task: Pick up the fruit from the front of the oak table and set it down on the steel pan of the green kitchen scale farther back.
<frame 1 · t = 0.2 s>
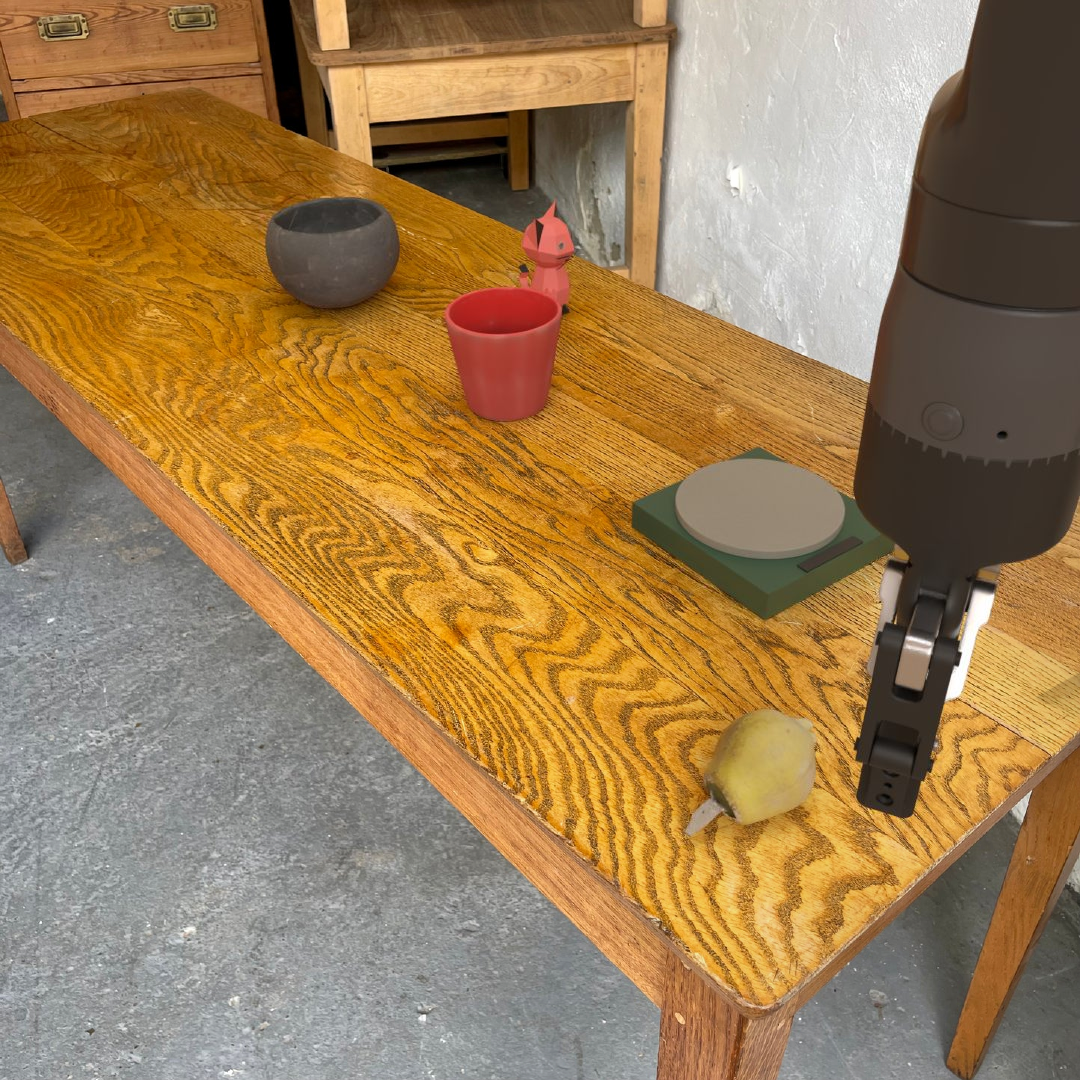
hand: (904, 734, 47), 17 cm above the table, tool pointing down, fingers open, 8 cm apart
scale: (760, 538, 87), on the table
flower pot: (508, 404, 107), on the table
cat figurine: (548, 316, 123), on the table
fruit: (747, 807, 66), on the table
bowl: (341, 300, 129), on the table
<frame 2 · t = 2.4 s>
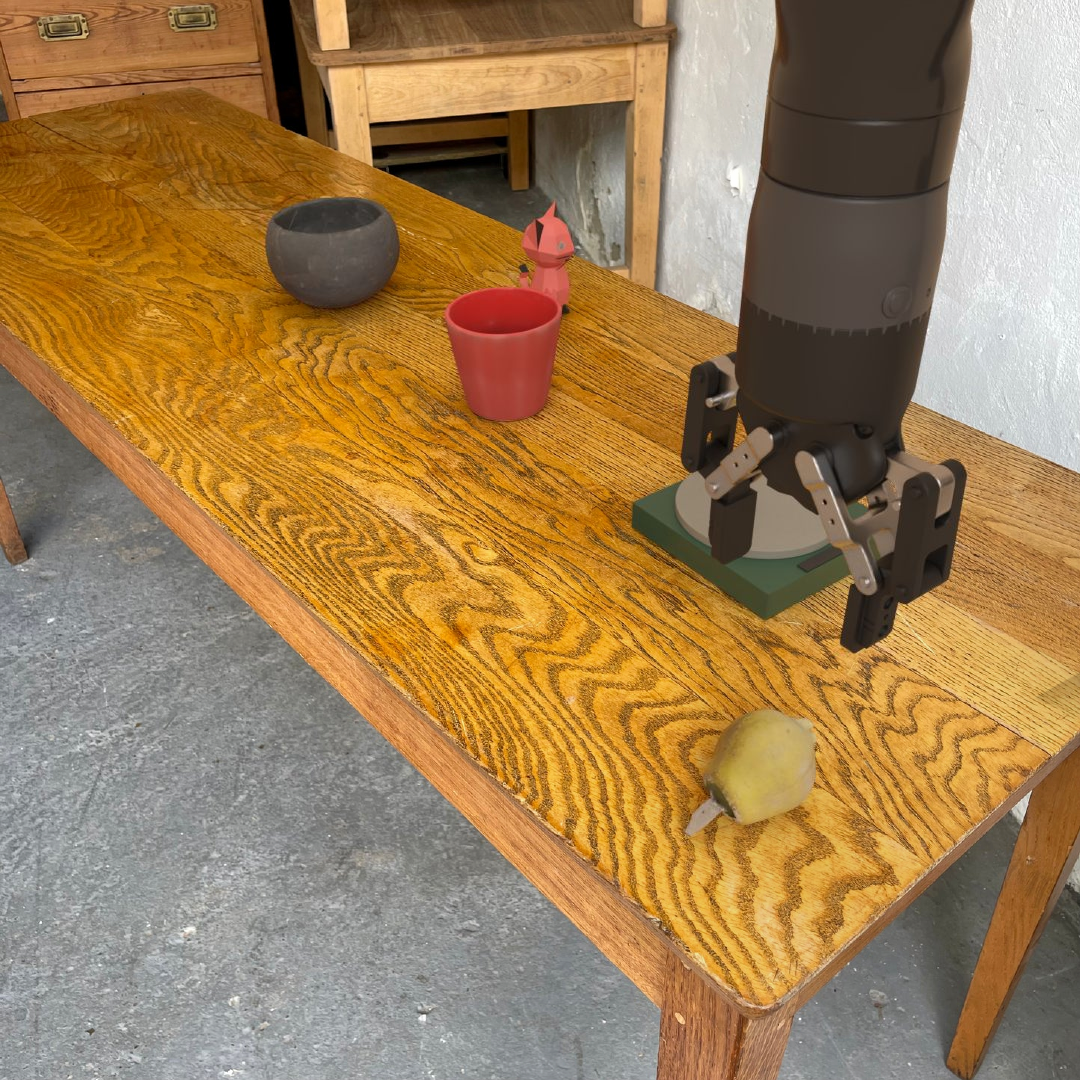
hand: (791, 597, 54), 17 cm above the table, tool pointing down, fingers open, 8 cm apart
nothing on the table moved.
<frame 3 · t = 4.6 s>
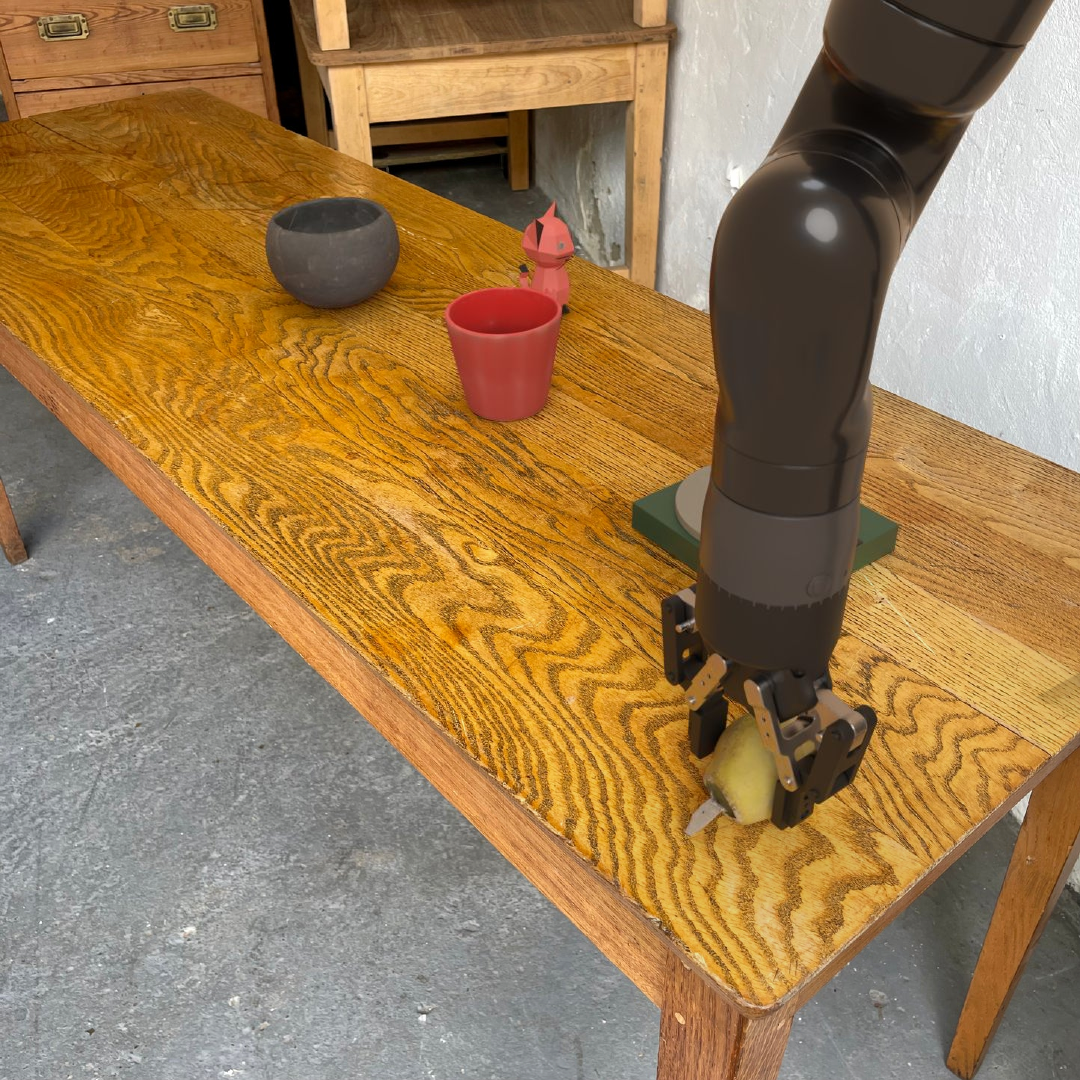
hand: (745, 783, 65), 2 cm above the table, tool pointing down, fingers closed on fruit, 6 cm apart
fruit: (747, 807, 66), on the table, touching gripper
everything else where it was.
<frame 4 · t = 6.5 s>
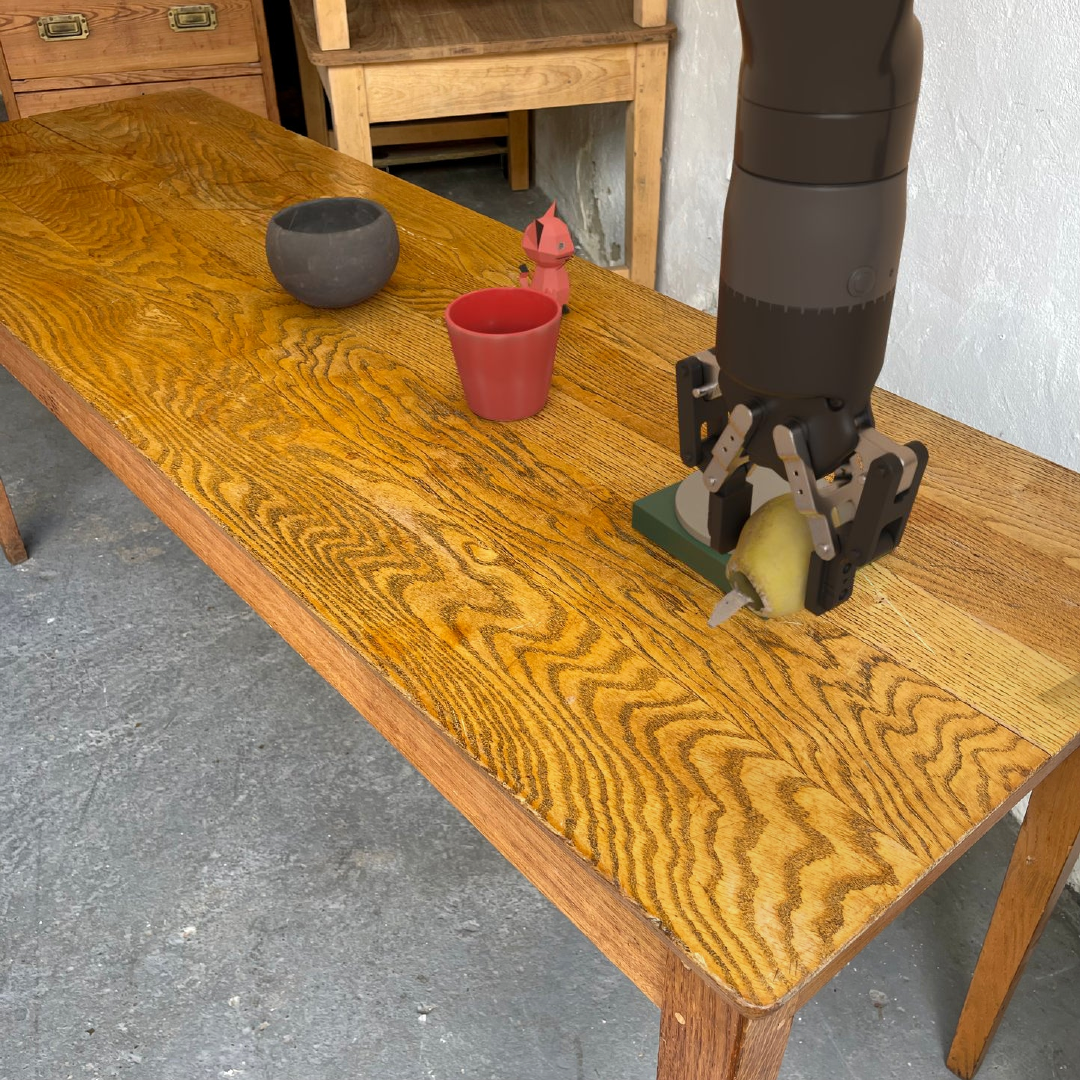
hand: (774, 574, 57), 16 cm above the table, tool pointing down, fingers closed on fruit, 6 cm apart
fruit: (775, 606, 58), point 14 cm above the table, touching gripper
everything else where it was.
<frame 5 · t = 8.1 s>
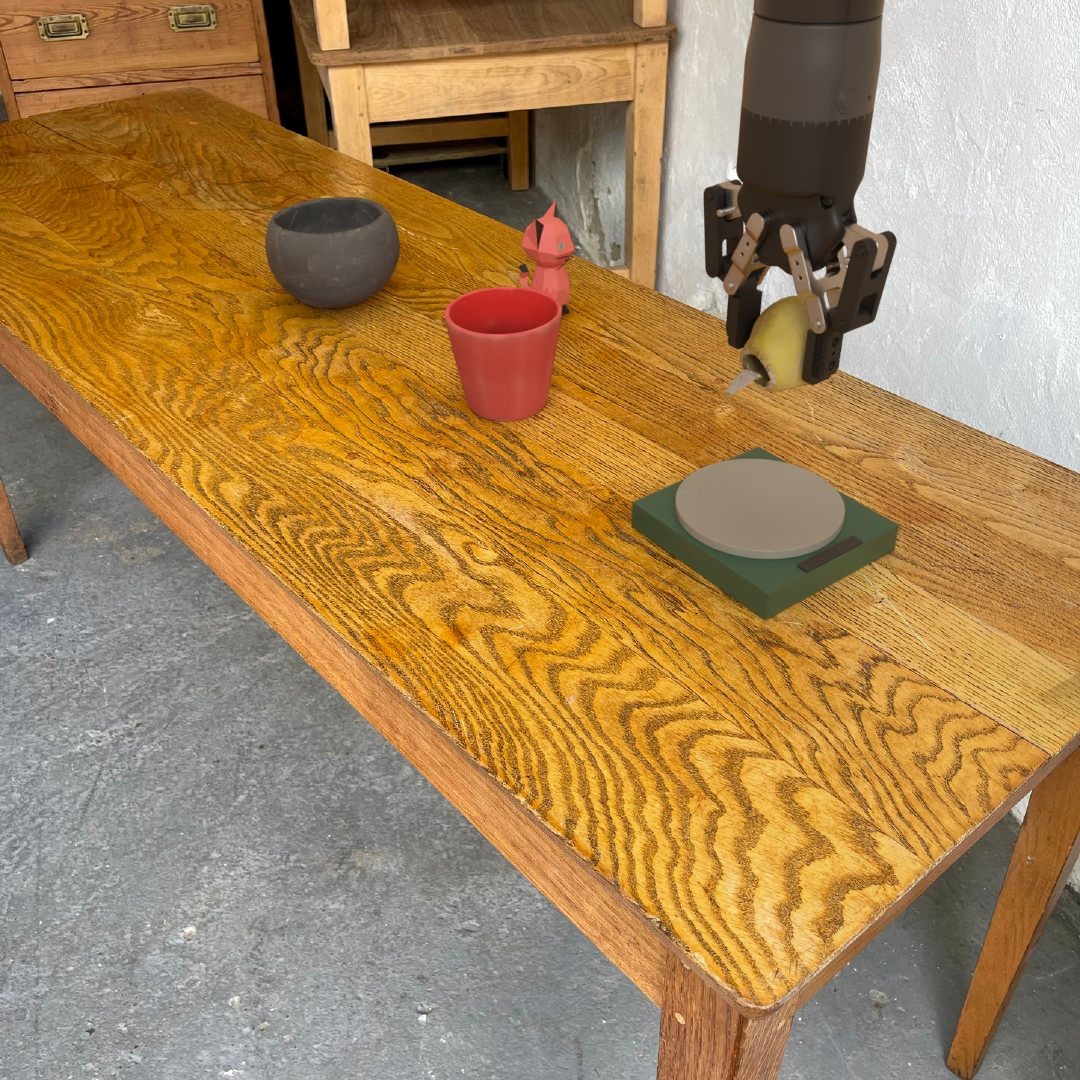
hand: (778, 361, 73), 18 cm above the table, tool pointing down, fingers closed on fruit, 6 cm apart
fruit: (778, 388, 74), point 16 cm above the table, touching gripper
everything else where it was.
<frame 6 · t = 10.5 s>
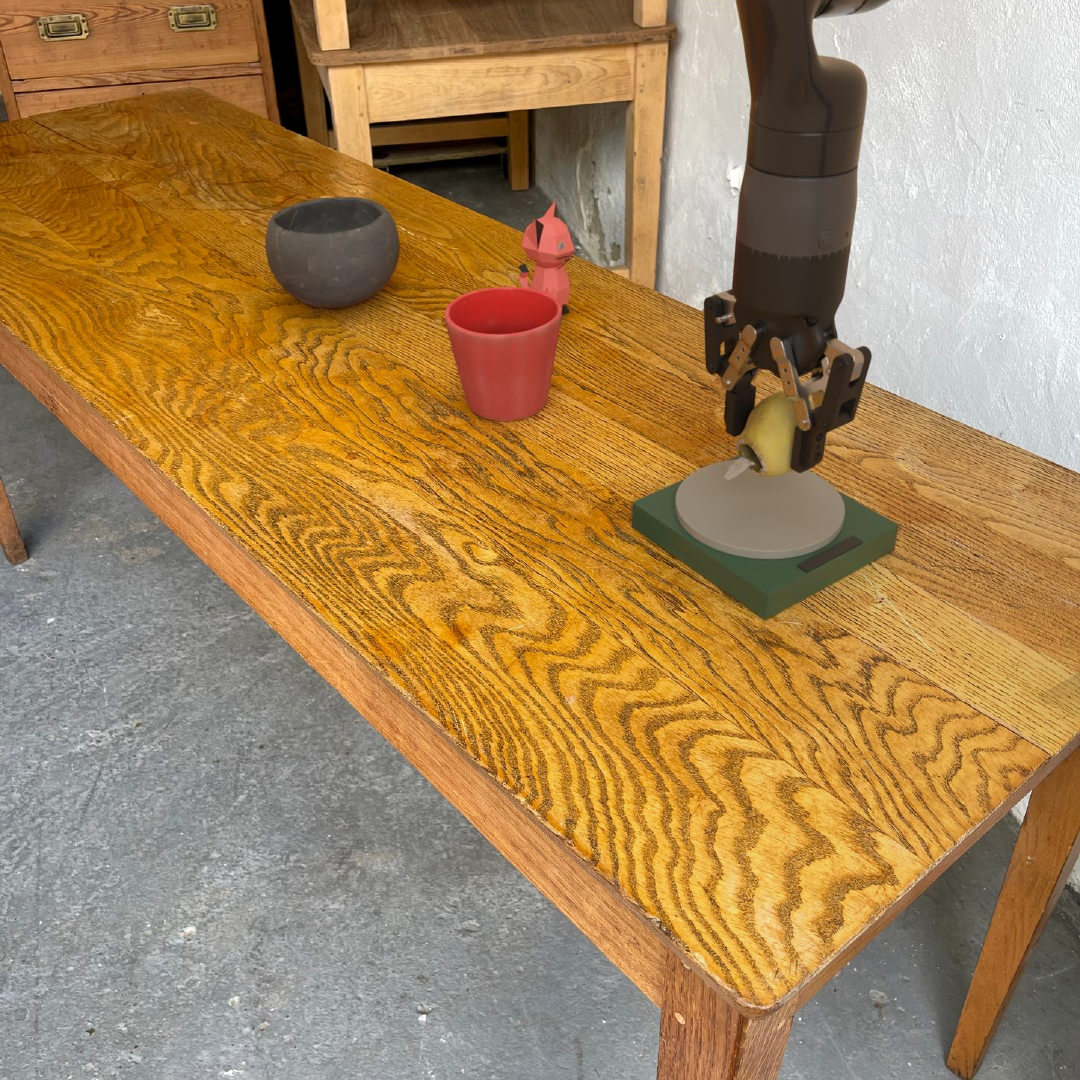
hand: (770, 448, 83), 8 cm above the table, tool pointing down, fingers closed on fruit, 6 cm apart
fruit: (770, 472, 83), point 6 cm above the table, touching gripper
everything else where it was.
when the fingers open (5 cm above the table, at t = 11.9 s): fruit stays where it is, resting on scale.
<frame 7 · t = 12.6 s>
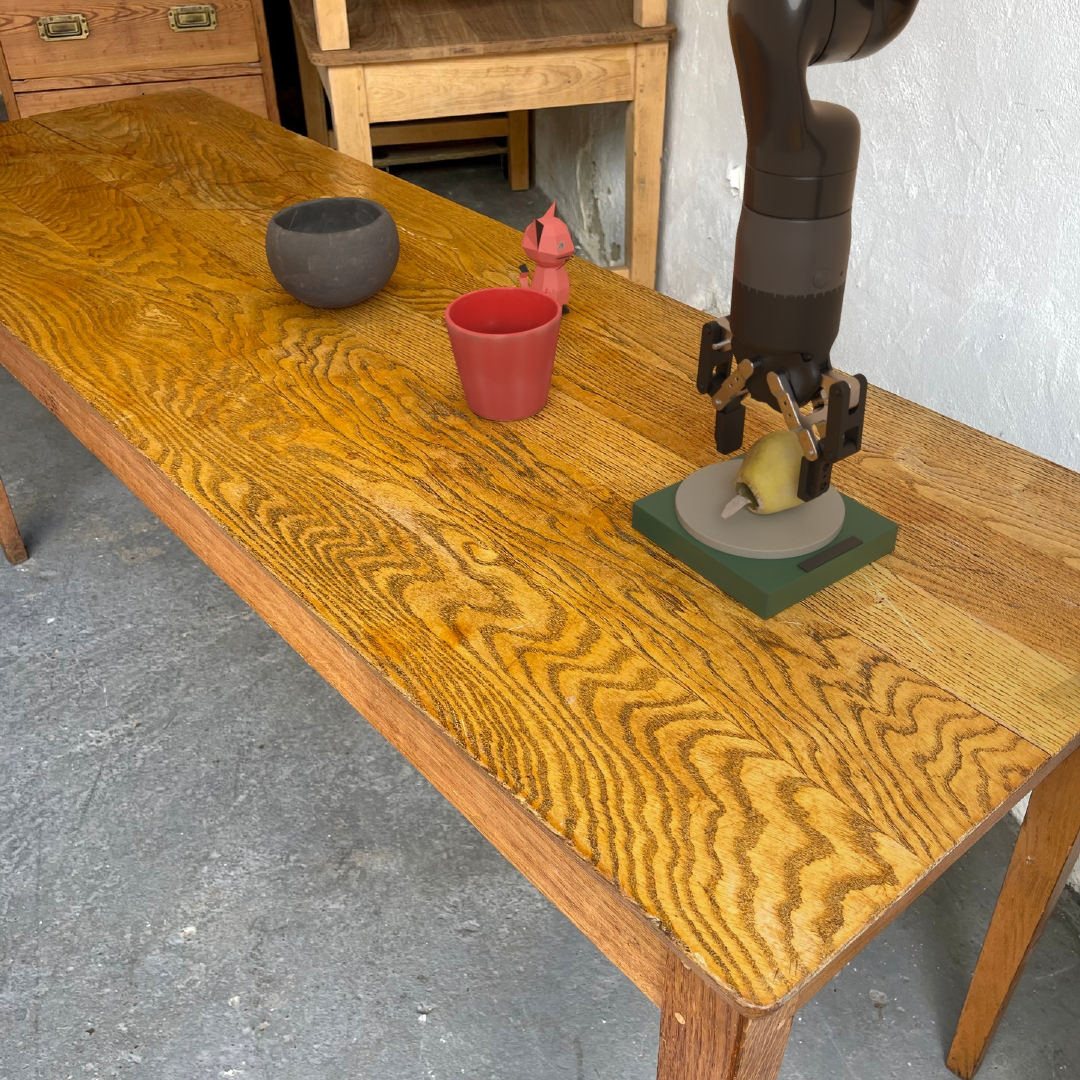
hand: (768, 472, 84), 6 cm above the table, tool pointing down, fingers open, 8 cm apart
fruit: (766, 508, 85), point 3 cm above the table, touching scale
everything else where it was.
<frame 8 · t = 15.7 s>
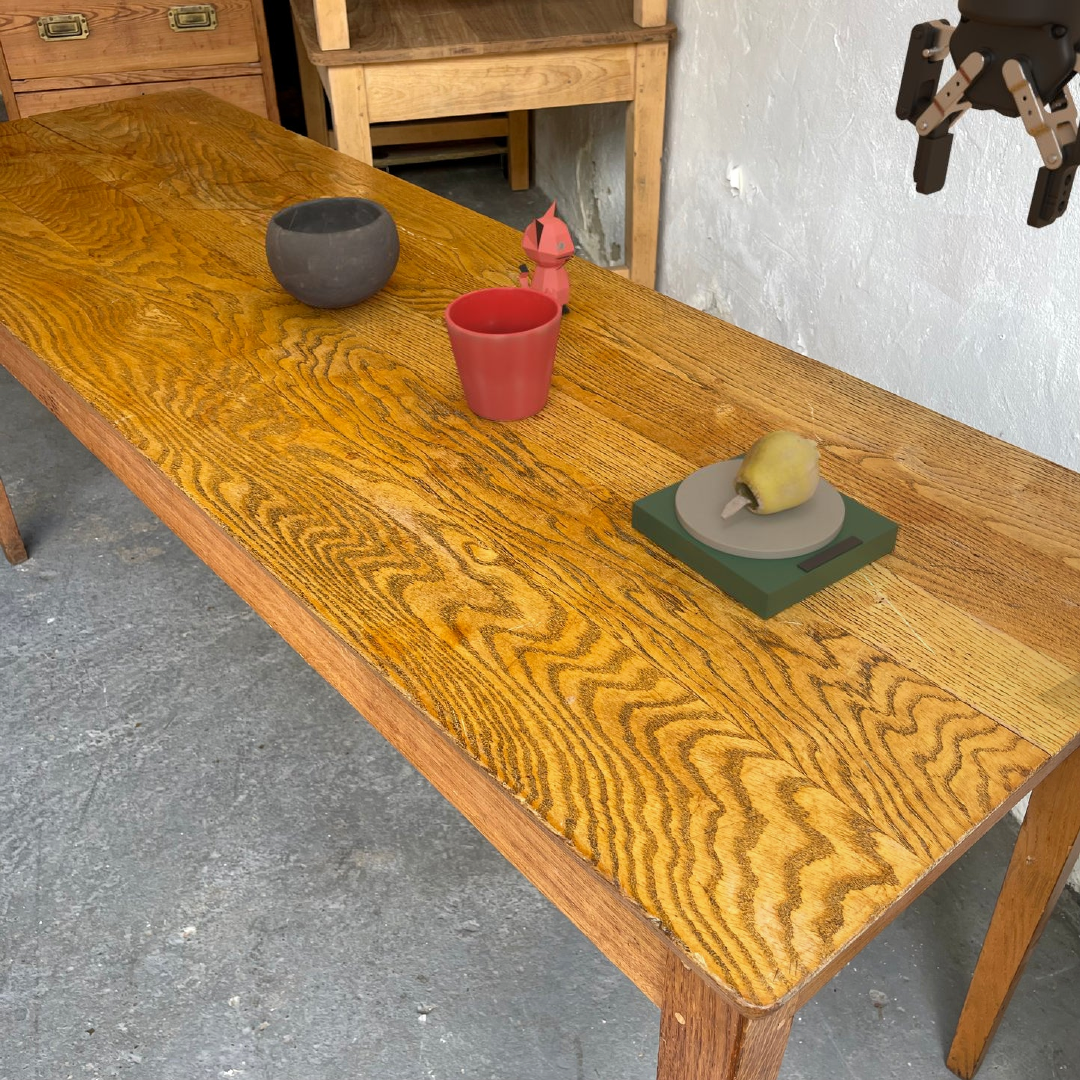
hand: (982, 207, 72), 26 cm above the table, tool pointing down, fingers open, 8 cm apart
nothing on the table moved.
at the end: fruit inside the target area on the scale (0.9 cm from its centre), point 3.0 cm above the scale's base; fruit tilted 0° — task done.
